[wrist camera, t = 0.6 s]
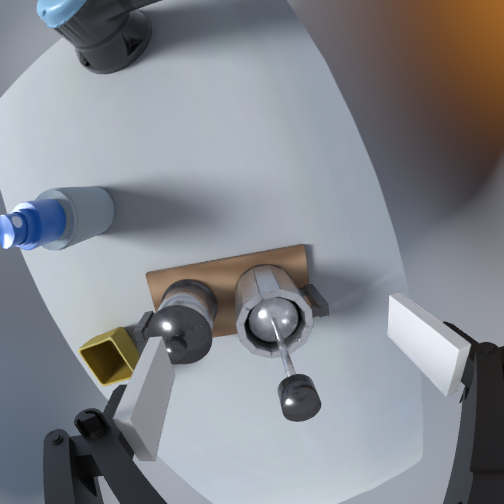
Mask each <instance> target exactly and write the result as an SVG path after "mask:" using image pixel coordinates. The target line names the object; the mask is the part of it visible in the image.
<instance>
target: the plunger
mask: <svg viewBox="0 0 504 504" xmlns="http://www.w3.org/2000/svg"><path fill="white" fill-rule="evenodd" d="M297 322H298V314H297V311H296V309H295V307H294V305H293V304H292V303H291V302H290V301H289V300H287V299H285V298H283V297H274V298H269V299H264V300H262V301H260V302H259V303H258V304H257V305H255V306H254V307H253V308H252V310H251V312H250V315H249V323H250V328H251V330H252V332H253V333H254V334H255V335H256V336H257V337H258V338H260V339H262V340H264V341H270V342H274V341H277V344H278V347H279V351H280V354H281V358H282V361H283V364H284V368H285V371H286V374H287V378H285V379H284V380H283V381H282V382H281V383H280V384H279V386H278V395H279V399H280V403H281V407H282V412H283V415H284V417H285V418H286V419H288V420H290V421H295V422H299V421H305V420H308V419H310V418H312V417H313V416H315V415H316V414H317V413H318V412H319V410H320V408H321V401H320V398H319V396H318V393H317V391H316V389H315V386H314V384H313V381H312V379H311V378H310V377H308V376H306V375H303V374H296V373H295V370H294V367H293V364H292V361H291V359H290V356H289V353H288V350H287V347H286V344H285V341H284V338H286V337H288V336H289V335H290V334H291V333H292V332H293V331H294V329H295V328H296V325H297Z"/></svg>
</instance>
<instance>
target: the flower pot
mask: <svg viewBox="0 0 504 504" xmlns="http://www.w3.org/2000/svg"><path fill="white" fill-rule="evenodd" d="M78 352H79V354H80V355H81V357H82V358H83V360H84V361H85V363H86V364H87V365H88V367H89V368H90V370H91V371H92V373H93V374H94V376H95V377H96V378H97V380H98V381H99V382H100V384H101V385H102V386H108V385H111V384H114V383H117V382H120V381H124V380H128V379H130V378H131V376H132V374H133V372H134V370H135V367H136V365H137V363H138V361H139V359H140V356H139V353H138V350H137V348H136V346H135V344H134V343H133V341H132V340H131V338H130V336H129V335H128V333H127V331H126V330H125V328H123V327H119V328H116V329H114V330H111V331H109V332H106V333H104V334H101V335H98V336H96V337H94V338H92V339H90V340H89V341H88V342H87V343H85V344H84V345H83V346H82V347H81V348H79V349H78Z"/></svg>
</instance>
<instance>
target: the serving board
mask: <svg viewBox="0 0 504 504" xmlns="http://www.w3.org/2000/svg"><path fill="white" fill-rule="evenodd" d="M259 264H273V265H276V266H279V267H280V268H282V269H284V270H285V271H286V272H287V273H288V274H289V276H290V277H291V279H292V280H293V282H294V283H295V285H296V286H297V288H300V287H304V285H308V284H309V278H308V270H307V262H306V254H305V246H304V245H303V244H299V245H294V246H288V247H283V248H277V249H272V250H266V251H261V252H255V253H250V254H244V255H239V256H233V257H228V258H222V259H217V260H211V261H206V262H200V263H195V264H189V265H184V266H178V267H173V268H167V269H162V270H156V271H151V272H147V273H146V274H145V275H146V278H147V282H148V286H149V289H150V293H151V297H152V300H153V303H154V307H155V310H156V312H157V311H158V309H159V307H160V305H161V300H162V297H163V294H164V292H165V291H166V289H167V288H168V287H169V286H170V285H171V284H172V283H174V282H176V281H178V280H182V279H194V280H198V281H200V282H202V283H204V284H206V285H207V286H208V287H209V288H210V289H211V290H212V291H213V293H214V294H215V297H216V299H217V304H218V309H217V315H216V318H215V320H214V322H213V326H212V337H218V336H225V335H231V334H237V333H238V331H237V326H236V311H235V288H236V284H237V282H238V280H239V278H240V276H241V275H242V274H243V273H244V272H245V271H246V270H248V269H249V268H251V267H253V266H255V265H259ZM303 297H304V298H305V300H306V301H307V303H308V305H309V306H312V305H311V303H310V302H309V300H308V299H307V297H306V296H303ZM312 319H313V317H312Z"/></svg>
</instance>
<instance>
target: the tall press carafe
mask: <svg viewBox="0 0 504 504" xmlns="http://www.w3.org/2000/svg"><path fill="white" fill-rule="evenodd" d="M303 296H306V297H307V299H308V300H309V302H310V303H311V305H312V306H309V305H308V303H307V301H306V300H305V298H304V297H303ZM274 297H283V298H285V299H287V300H289V301H290V302H291V303H292V304H293V305H294V307H295V309H296V311H297V314H298V322H297V325H296V328H295V329H294V331H293V332H292V333H291V334H290V335H289V336H288V337H286V338H284V341H285V344H286V347H287V350H288V353H289V354H291V353H293V352H294V351H296V350H297V349H298V348H300V347H301V346H302V345H304V344H305V343H306V341H307V339H308V337H309V335H310V333H311V330H312V328H313V319H312V317H316V316H319V317H323V316H327V315H329V309H328V303H327V302H326V300H325V299H324V298H323V297H322V296H321V294H320V293H319V292H318V291H317V289H316V288H315V287H314V286H313V285H312V284H308V285H304V287H300V288H297V286H296V285H295V283H294V282H293V280H292V279H291V277H290V276H289V274H288V273H287V272H286V271H285V270H284V269H282V268H280V267H279V266H276V265H273V264H259V265H255V266H253V267H251V268H249V269H248V270H246V271H245V272H244V273H243V274H242V275H241V276H240V278H239V280H238V282H237V284H236V288H235V311H236V326H237V331H238V335H239V340H240V342H241V343H242V344H243V345H244V346H245V347H246V348H247V349H248V350H249V351H250V352H251V353H253V354H255V355H259V356H263V357H267V358H276V357H281V354H280V351H279V347H278V344H277V341H274V342H270V341H264V340H262V339H260V338H258V337H257V336H256V335H255V334H254V333H253V332H252V330H251V328H250V323H249V315H250V312H251V310H252V308H253V307H254V306H255V305H257V304H258V303H259V302H260V301H262V300H264V299H269V298H274Z"/></svg>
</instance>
